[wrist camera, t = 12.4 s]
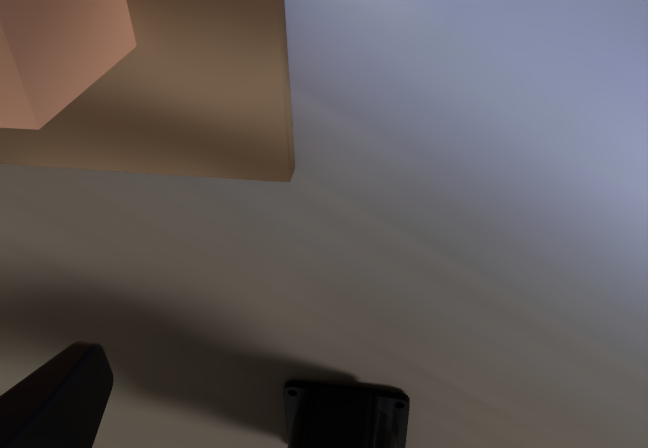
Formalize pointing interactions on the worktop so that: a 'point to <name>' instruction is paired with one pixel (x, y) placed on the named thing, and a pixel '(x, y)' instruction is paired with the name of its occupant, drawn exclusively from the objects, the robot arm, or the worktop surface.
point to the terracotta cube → (56, 54)
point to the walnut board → (180, 99)
